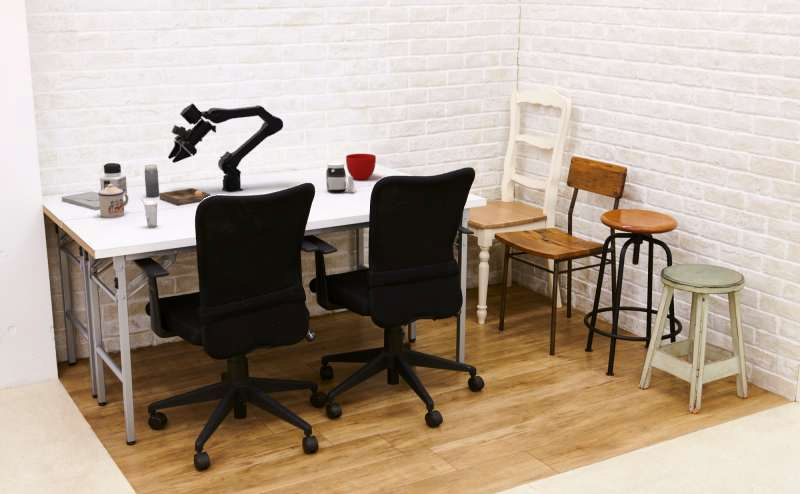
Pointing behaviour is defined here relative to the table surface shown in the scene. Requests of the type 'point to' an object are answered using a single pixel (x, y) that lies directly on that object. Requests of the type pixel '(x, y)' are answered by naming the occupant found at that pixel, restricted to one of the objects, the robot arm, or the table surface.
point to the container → (113, 177)
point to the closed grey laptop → (84, 200)
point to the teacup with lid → (112, 201)
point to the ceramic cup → (360, 165)
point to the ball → (198, 193)
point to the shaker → (151, 181)
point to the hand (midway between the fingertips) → (170, 160)
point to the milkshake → (151, 213)
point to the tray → (182, 196)
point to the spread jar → (338, 178)
